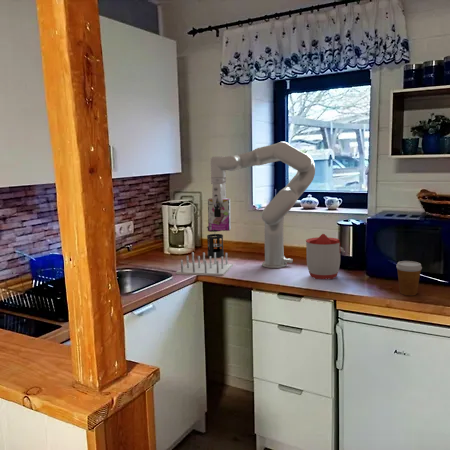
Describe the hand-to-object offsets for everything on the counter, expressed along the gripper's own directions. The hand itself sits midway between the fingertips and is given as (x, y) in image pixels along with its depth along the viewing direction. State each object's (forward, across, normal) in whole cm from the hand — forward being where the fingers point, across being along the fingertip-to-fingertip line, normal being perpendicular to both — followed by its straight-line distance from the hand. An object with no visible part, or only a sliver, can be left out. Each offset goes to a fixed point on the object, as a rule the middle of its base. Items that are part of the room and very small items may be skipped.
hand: (219, 215), depth 235 cm
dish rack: (+26, -12, +4) cm, 29 cm away
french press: (+26, +18, +8) cm, 32 cm away
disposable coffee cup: (+25, -34, -88) cm, 98 cm away
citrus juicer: (+25, -15, -55) cm, 62 cm away
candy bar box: (+8, 0, 0) cm, 8 cm away
